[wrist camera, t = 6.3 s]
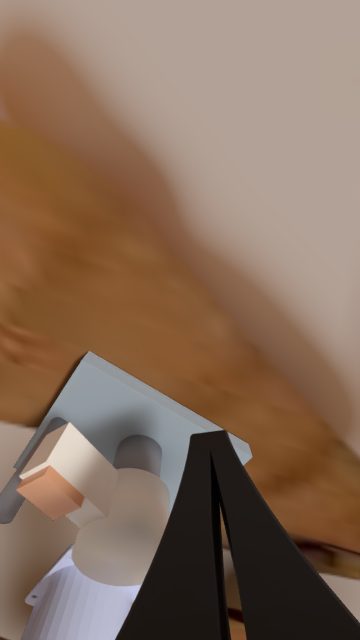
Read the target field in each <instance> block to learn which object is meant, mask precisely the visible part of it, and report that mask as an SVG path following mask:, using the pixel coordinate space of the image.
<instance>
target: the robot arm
mask: <svg viewBox="0 0 360 640" xmlns="http://www.w3.org/2000/svg"><path fill="white" fill-rule="evenodd" d="M219 502H220V504H219ZM220 507H221V511H222V516H223V521H224V525H225V530H226V534H227V539H228V543H229V548H230V552H231V557H232V561H233V566H234V570H235V575H236V579H237V584H238V589H239V594H240V599H241V606H242V612H243V619H244V625H245V631H246V637H247V640H360V623H359V622H358V620H357V619H356V618H355V617H354V616H353V615H352V613H351V612H350V611H349V610H348V609H347V607H346V606H345V605H344V604H343V603H342V601H341V600H340V599H339V598H338V597H337V596H336V594H335V593H334V592H333V591H332V589H331V588H329V586H328V585H327V583H325V581H324V580H323V579H322V578H321V576H320V575H319V574H318V573H317V571H316V570H315V569H314V567H313V566H312V565H311V564H310V562H309V561H308V560H307V559H306V557H305V556H304V555H303V553H302V552H301V551H300V550H299V548H298V547H297V546H296V544H295V543H294V542H293V540H292V539H291V538H290V536H289V535H288V534H287V532H286V531H285V529H284V528H283V527H282V525H281V524H280V523H279V521H278V520H277V518H276V517H275V515H274V514H273V512H272V511H271V510H270V508H269V507H268V505H267V504H266V502H265V501H264V499H263V498H262V496H261V494H260V493H259V491H258V490H257V488H256V487H255V485H254V483H253V482H252V480H251V478H250V477H249V475H248V473H247V472H246V470H245V468H244V466H243V465H242V463H241V461H240V459H239V457H238V455H237V453H236V451H235V449H234V447H233V445H232V443H231V440H230V438H229V435H228V432H227V431H225V430H219V431H211V432H204V433H196V434H192V435H191V436H190V442H189V448H188V454H187V459H186V463H185V467H184V471H183V475H182V478H181V482H180V485H179V489H178V492H177V496H176V499H175V502H174V505H173V508H172V510H171V513H170V516H169V519H168V522H167V525H166V528H165V530H164V533H163V536H162V538H161V541H160V543H159V546H158V548H157V551H156V553H155V555H154V558H153V560H152V563H151V565H150V567H149V569H148V572H147V574H146V576H145V578H144V581H143V583H142V584H140V585H136V586H112V585H106V584H102V583H99V582H96V581H94V580H92V579H90V578H88V577H86V576H85V575H84V574H82V573H81V572H80V571H79V570H78V569H77V568H76V566H75V565H74V563H73V560H72V549H73V546H74V544H73V545H71V546H69V548H68V549H67V550H66V551H65V552H64V553H63V554H62V555H61V557H60V558H59V559H58V560H57V561H56V562H55V563H54V565H53V566H52V567H51V568H50V569H49V570H48V571H47V572H46V574H45V575H44V576H43V577H42V578H41V580H40V581H39V582H38V583H37V584H36V585H35V586H34V587H33V588H32V590H31V591H30V592H29V593H28V594H27V596H26V599H25V602H26V603H27V604H29V605H32V606H34V607H33V610H32V612H31V615H30V617H29V620H28V623H27V625H26V628H25V630H24V633H23V635H22V638H21V640H231V635H230V627H229V619H228V611H227V603H226V594H225V593H226V592H225V581H224V566H223V550H222V534H221V519H220ZM133 601H134V603H133V605H132V607H131V604H132V602H133Z"/></svg>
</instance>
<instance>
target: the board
mask: <svg viewBox="0 0 360 640" xmlns="http://www.w3.org/2000/svg"><path fill="white" fill-rule="evenodd" d="M69 422H70V423H71V424H72V425H73V426H74V427H75V428H76V429H77V430H78V431H79V432H80V433H81V434H82V435H83V436H84V437H85V438H86V439H87V440H88V441H89V442H90V443H91V444H92V445H93V446H94V447H95V448H96V449H97V450H98V451H99V452H100V453H101V454H102V455H103V456H104V457H105V458H106V459H107V460H108V461H109V462H110V463H111V464H112V466H113V467H114V468H115V469H121V468H136V469H141V470H145V471H148V472H150V473H152V474H154V475H156V476H157V477H159V478H160V479H161V480H162V481H163V482H164V483H165V484H166V486H167V488H168V490H169V495H170V501H169V516H170V513H171V510H172V508H173V505H174V502H175V499H176V496H177V492H178V489H179V485H180V482H181V478H182V475H183V471H184V467H185V463H186V459H187V454H188V448H189V442H190V436H191V435H192V434H196V433H204V432H211V431H219V430H223V429H222V428H220V427H218V426H217V425H215V424H213V423H211V422H210V421H208V420H206V419H205V418H203V417H201V416H199V415H198V414H196V413H194V412H193V411H191V410H189V409H188V408H186V407H184V406H182V405H181V404H179V403H177V402H176V401H174V400H172V399H170V398H169V397H167V396H165V395H164V394H162V393H160V392H158V391H157V390H155V389H153V388H152V387H150V386H148V385H146V384H145V383H143V382H141V381H140V380H138V379H136V378H135V377H133V376H131V375H129V374H128V373H126V372H124V371H123V370H121V369H119V368H117V367H116V366H114V365H112V364H111V363H109V362H107V361H105V360H104V359H102V358H100V357H99V356H97V355H95V354H93V353H92V352H90V351H88V353H87V354H86V355H85V357H84V358H83V359H82V361H81V362H80V364H79V365H78V367H77V368H76V370H75V372H74V373H73V375H72V376H71V378H70V379H69V381H68V382H67V384H66V386H65V387H64V389H63V390H62V392H61V393H60V395H59V397H58V398H57V400H56V401H55V403H54V404H53V406H52V407H51V409H50V411H49V412H48V414H47V415H46V417H45V418H44V420H43V421H42V423H41V425H40V426H39V428H38V429H37V431H36V433H35V434H34V436H33V437H32V439H31V440H30V442H29V443H28V445H27V446H26V448H25V450H24V451H23V453H22V454H21V456H20V458H19V459H18V461H17V462H16V464H15V465H14V468H16V469H17V471H16V472H15V473H14V475H13V476H12V478H11V479H10V481H9V482H8V484H7V485H6V486H5V488H4V489H3V491H2V492H1V494H0V524H6V523H10V522H11V521H12V520H13V518H14V516H15V515H16V513H17V512H18V510H19V508H20V507H21V505H22V503H23V501H24V500H25V497H24V496H22V495H21V494H20V493H19V492H18V491H16V489H17V487H18V486H19V484H20V483H21V481H22V479H21V478H20V477H19V475H20V474H21V472H22V471H23V469H24V468H25V466H26V465H27V463H28V462H29V460H30V459H31V457H32V456H33V454H34V453H35V451H36V450H37V448H38V447H39V445H40V444H41V442H42V441H43V439H44V438H45V436H46V435H48V434H49V433H51V432H53V431H55V430H56V429H58V428H60V427H62V426H63V425H65V424H67V423H69ZM228 435H229V438H230V440H231V443H232V445H233V447H234V449H235V451H236V453H237V455H238V457H239V459H240V461H241V463H242V465H245V464H246V463H247V462H248V461H249V460H250V459H251V458H252V454H251V451H250V448H249V444H247V443H246V442H244V441H242V440H241V439H239V438H237V437H235V436H234V435H232V434H230V433H229V432H228Z"/></svg>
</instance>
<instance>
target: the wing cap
mask: <svg viewBox="0 0 360 640" xmlns="http://www.w3.org/2000/svg"><path fill="white" fill-rule="evenodd" d="M19 477H20V478H21V479H22V481H21V483H20V484H19V486H18V487H17V489H16V491H18V492H19V493H20V494H21V495H22V496H24V497H25V498H26V499H27V500H29V501H30V502H31V503H32V504H33V505H35V506H36V507H37V508H38V509H40V510H41V511H42V512H43V513H45V514H46V515H47V516H48V517H49V518H50V519H52V520H53V521H54V520H56V519H58V518H60V517H62V516H66V517H67V518H68V519H70V520H71V521H72V522H73V523H74V524H76V525H77V526H78V527H79V531H78V534H77V537H76V540H75V543H74V546H73V549H72V560H73V563H74V565H75V566H76V568H77V569H78V570H79V571H80V572H81V573H82V574H84V575H85V576H86V577H88V578H90V579H92V580H94V581H96V582H99V583H102V584H106V585H112V586H136V585H140V584H142V583H143V581H144V578H145V576H146V574H147V572H148V569H149V567H150V565H151V563H152V560H153V558H154V555H155V553H156V551H157V548H158V546H159V543H160V541H161V538H162V536H163V533H164V530H165V528H166V525H167V522H168V519H169V501H170V495H169V490H168V488H167V486H166V484H165V483H164V482H163V481H162V480H161V479H160V478H159V477H157V476H156V475H154V474H152V473H150V472H148V471H145V470H141V469H136V468H121V469H115V468H114V467H113V466H112V464H111V463H110V462H109V461H108V460H107V459H106V458H105V457H104V456H103V455H102V454H101V453H100V452H99V451H98V450H97V449H96V448H95V447H94V446H93V445H92V444H91V443H90V442H89V441H88V440H87V439H86V438H85V437H84V436H83V435H82V434H81V433H80V432H79V431H78V430H77V429H76V428H75V427H74V426H73V425H72V424H71V423H70V422H69V423H67V424H65V425H63V426H62V427H60V428H58V429H56V430H55V431H53V432H51V433H49V434H48V435H46V436H45V438H44V439H43V441H42V442H41V444H40V445H39V447H38V448H37V450H36V451H35V453H34V454H33V456H32V457H31V459H30V460H29V462H28V463H27V465H26V466H25V468H24V469H23V471H22V472H21V474H20V475H19Z"/></svg>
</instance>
